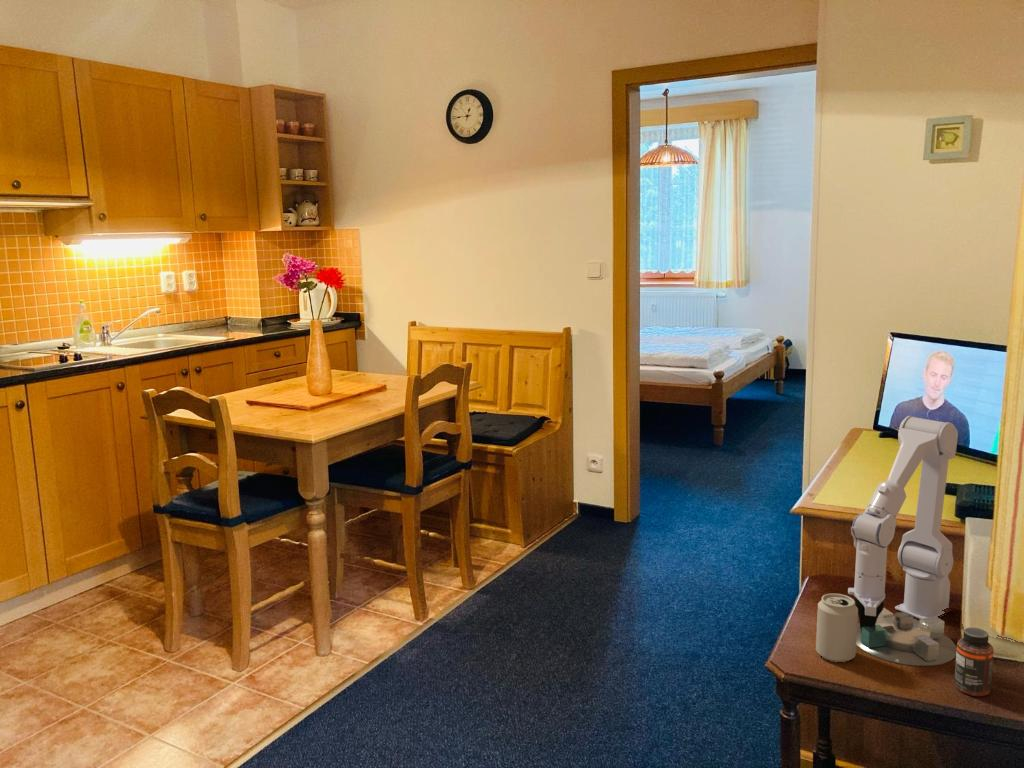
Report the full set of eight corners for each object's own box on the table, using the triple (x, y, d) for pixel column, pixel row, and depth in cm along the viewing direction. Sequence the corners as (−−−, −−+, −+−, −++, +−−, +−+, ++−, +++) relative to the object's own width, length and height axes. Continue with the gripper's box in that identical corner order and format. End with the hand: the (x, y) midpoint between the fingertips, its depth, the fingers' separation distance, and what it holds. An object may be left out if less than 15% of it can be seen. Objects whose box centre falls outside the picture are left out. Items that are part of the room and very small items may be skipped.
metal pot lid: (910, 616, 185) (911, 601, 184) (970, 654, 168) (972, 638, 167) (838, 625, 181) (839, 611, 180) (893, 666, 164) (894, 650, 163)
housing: (888, 611, 188) (889, 587, 187) (977, 647, 171) (979, 622, 170) (829, 635, 177) (830, 610, 176) (918, 676, 161) (920, 649, 160)
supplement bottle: (984, 682, 158) (989, 626, 156) (995, 699, 153) (1000, 641, 150) (949, 679, 160) (954, 623, 158) (958, 696, 154) (963, 638, 152)
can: (858, 666, 165) (862, 608, 163) (818, 663, 166) (821, 605, 164) (851, 647, 172) (854, 592, 170) (812, 644, 174) (815, 589, 171)
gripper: (848, 556, 180) (845, 615, 183) (850, 583, 167) (846, 647, 170) (884, 559, 178) (880, 619, 180) (889, 587, 165) (885, 652, 167)
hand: (866, 633), depth 175 cm, fingers closed, pressing on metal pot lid
